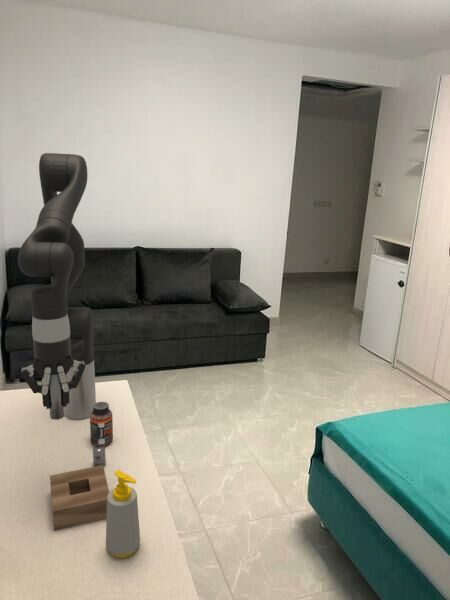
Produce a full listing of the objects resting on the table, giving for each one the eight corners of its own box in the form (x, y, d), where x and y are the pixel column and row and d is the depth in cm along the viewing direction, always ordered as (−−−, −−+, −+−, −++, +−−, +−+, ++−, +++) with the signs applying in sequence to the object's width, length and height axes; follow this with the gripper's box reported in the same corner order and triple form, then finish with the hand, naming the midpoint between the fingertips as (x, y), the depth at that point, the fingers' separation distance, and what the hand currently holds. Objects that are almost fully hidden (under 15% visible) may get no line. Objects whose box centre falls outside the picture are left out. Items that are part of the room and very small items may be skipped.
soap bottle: (124, 566, 95) (122, 491, 90) (98, 550, 99) (95, 476, 93) (147, 543, 101) (147, 471, 95) (122, 529, 104) (120, 458, 99)
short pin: (92, 462, 125) (92, 446, 123) (104, 460, 126) (104, 443, 124) (94, 469, 122) (93, 452, 121) (106, 467, 123) (105, 450, 122)
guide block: (51, 493, 114) (49, 475, 112) (103, 482, 118) (102, 465, 116) (54, 530, 103) (52, 511, 102) (111, 517, 108) (110, 498, 106)
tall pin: (49, 413, 111) (46, 369, 108) (63, 411, 112) (60, 368, 109) (50, 420, 108) (47, 375, 105) (64, 418, 109) (61, 374, 106)
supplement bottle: (107, 449, 130) (106, 412, 127) (86, 445, 131) (85, 409, 128) (116, 436, 136) (115, 401, 132) (96, 433, 137) (95, 398, 133)
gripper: (83, 325, 110) (87, 394, 115) (16, 331, 105) (22, 402, 110) (87, 337, 103) (90, 409, 109) (15, 344, 98) (22, 419, 104)
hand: (56, 405), depth 109 cm, fingers closed on tall pin, 3 cm apart
